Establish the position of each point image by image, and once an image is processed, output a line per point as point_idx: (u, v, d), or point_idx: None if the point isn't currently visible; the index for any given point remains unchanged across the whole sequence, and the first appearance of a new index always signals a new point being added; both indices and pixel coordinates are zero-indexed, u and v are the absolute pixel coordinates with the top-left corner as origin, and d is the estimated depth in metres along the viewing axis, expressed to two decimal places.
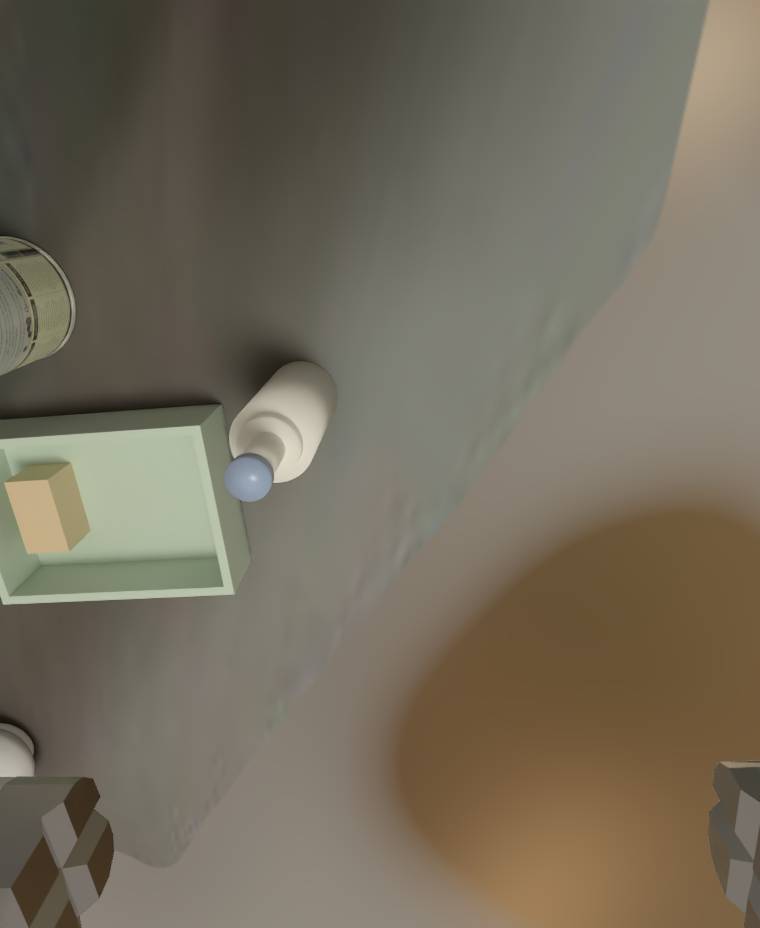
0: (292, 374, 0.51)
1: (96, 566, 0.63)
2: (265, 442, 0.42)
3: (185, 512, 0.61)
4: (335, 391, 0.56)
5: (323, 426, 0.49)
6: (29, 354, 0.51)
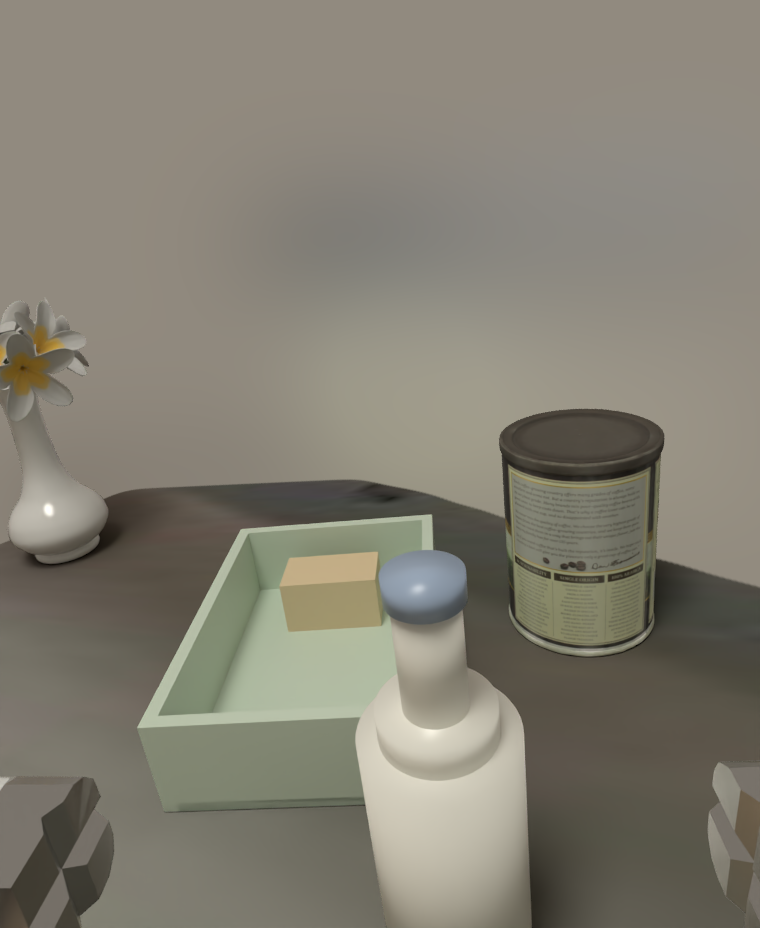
0: (529, 880, 0.26)
1: (241, 627, 0.49)
2: (464, 669, 0.22)
3: None
4: None
5: (439, 888, 0.22)
6: (535, 572, 0.43)
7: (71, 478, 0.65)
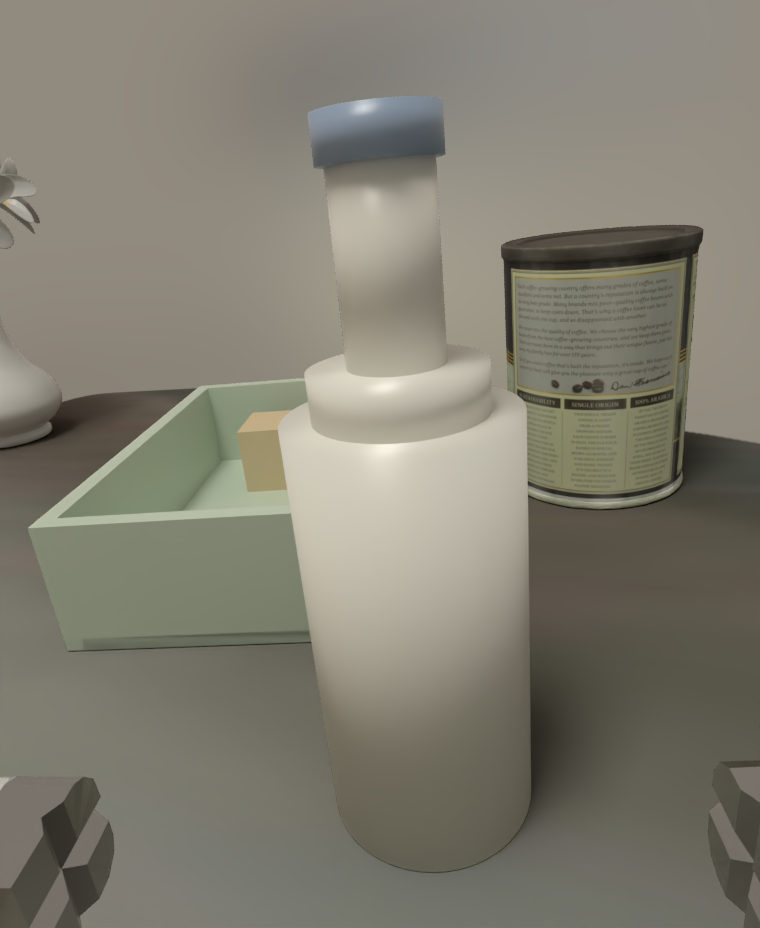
0: (529, 667, 0.18)
1: (192, 485, 0.42)
2: (438, 283, 0.14)
3: None
4: (442, 854, 0.17)
5: (393, 625, 0.15)
6: (541, 404, 0.36)
7: (19, 353, 0.58)
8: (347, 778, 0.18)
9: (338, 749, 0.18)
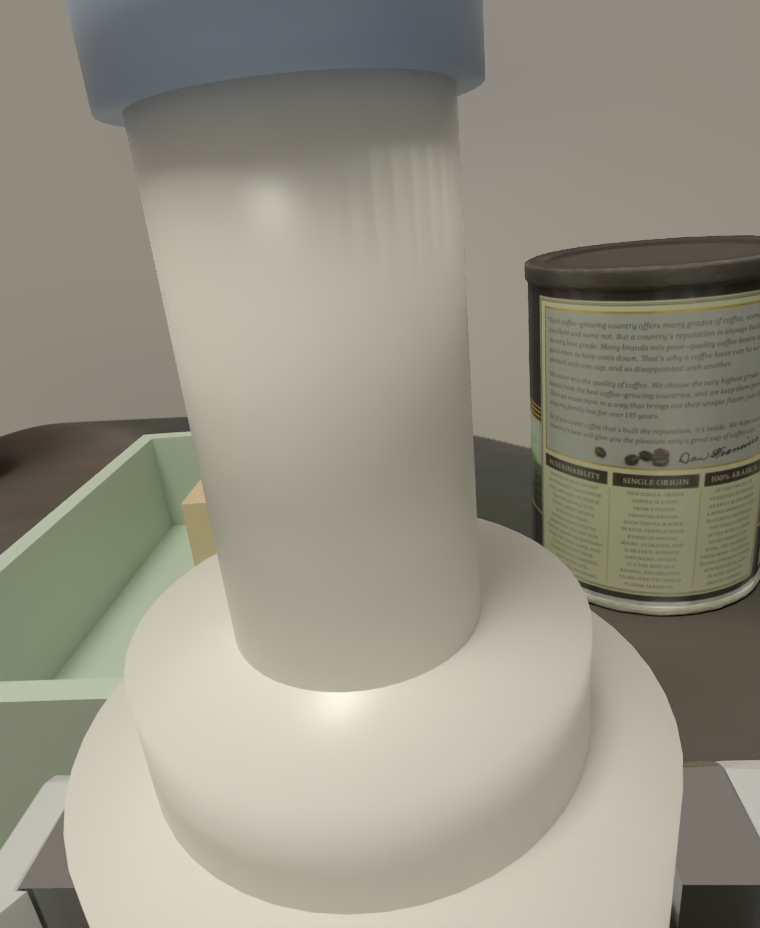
0: None
1: (126, 569, 0.33)
2: (464, 441, 0.05)
3: None
4: None
5: None
6: (579, 476, 0.27)
7: None
8: None
9: None
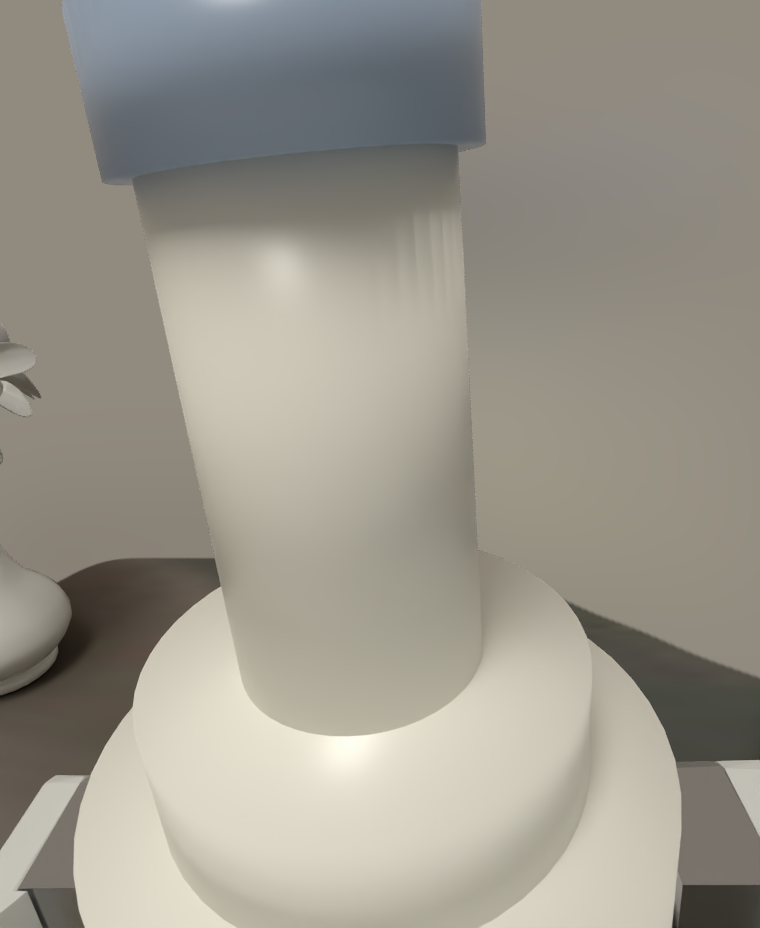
0: None
1: None
2: (465, 491, 0.05)
3: None
4: None
5: None
6: None
7: (13, 566, 0.43)
8: None
9: None
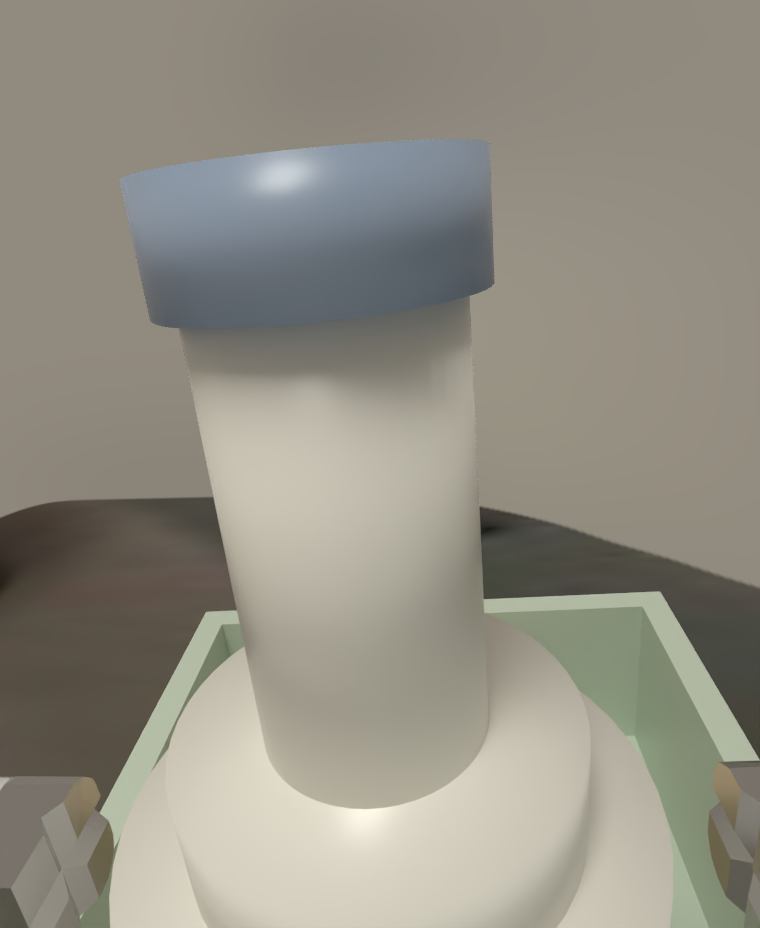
0: None
1: None
2: (474, 584, 0.06)
3: None
4: None
5: None
6: None
7: None
8: None
9: None
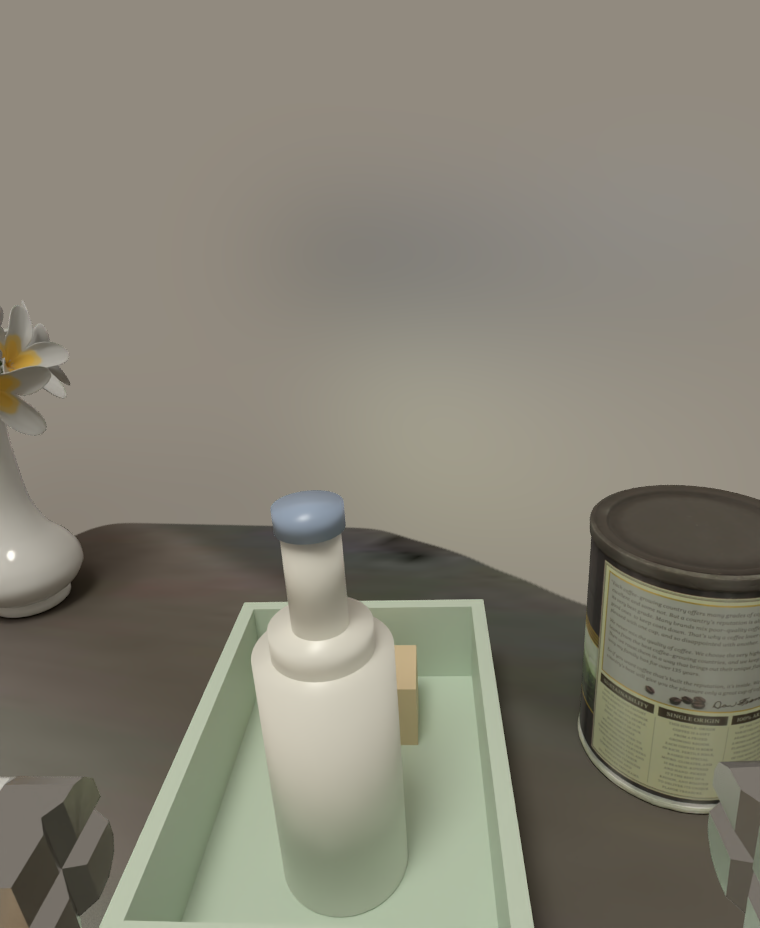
0: (401, 790, 0.30)
1: (239, 735, 0.39)
2: (341, 590, 0.26)
3: (291, 906, 0.30)
4: (343, 906, 0.29)
5: (312, 778, 0.26)
6: (630, 701, 0.33)
7: (41, 516, 0.55)
8: (288, 857, 0.29)
9: (282, 840, 0.29)
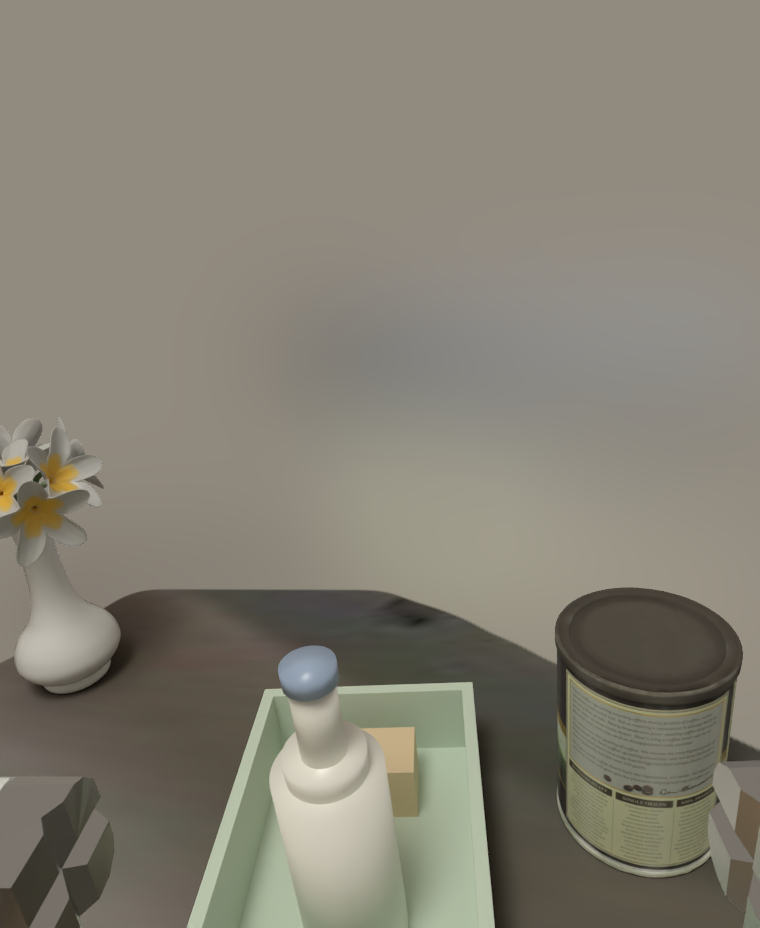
0: (399, 875, 0.36)
1: (265, 811, 0.45)
2: (339, 728, 0.32)
3: None
4: None
5: (322, 877, 0.33)
6: (593, 785, 0.39)
7: (82, 602, 0.62)
8: None
9: (303, 918, 0.36)
